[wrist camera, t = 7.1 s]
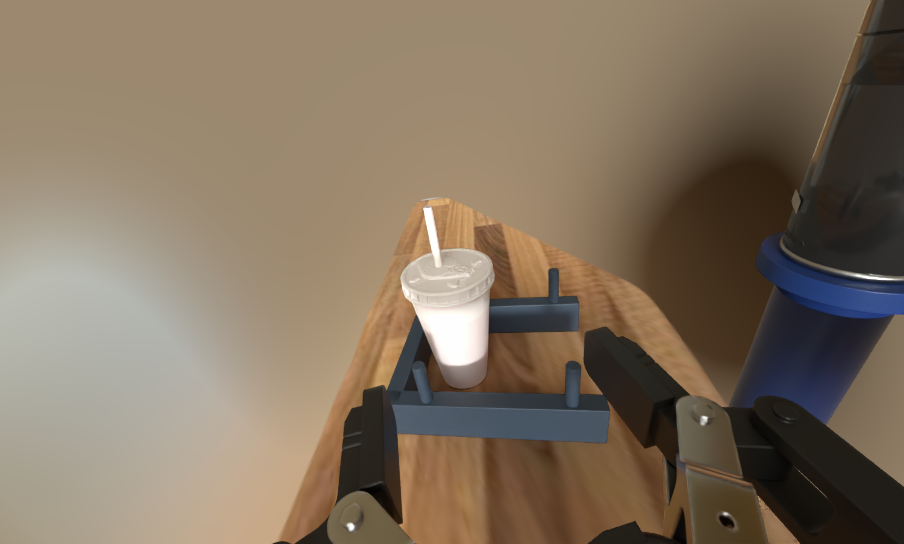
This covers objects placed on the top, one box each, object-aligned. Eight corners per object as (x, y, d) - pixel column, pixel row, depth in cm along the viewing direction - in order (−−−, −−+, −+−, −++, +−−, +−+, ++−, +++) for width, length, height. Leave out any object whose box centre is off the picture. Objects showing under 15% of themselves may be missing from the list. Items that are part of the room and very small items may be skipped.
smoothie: (451, 336, 31) (422, 189, 25) (516, 355, 28) (504, 191, 21) (410, 387, 27) (361, 224, 20) (482, 416, 24) (453, 233, 17)
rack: (576, 322, 31) (578, 265, 28) (606, 443, 21) (614, 374, 18) (426, 326, 33) (414, 274, 30) (391, 433, 24) (368, 372, 21)
